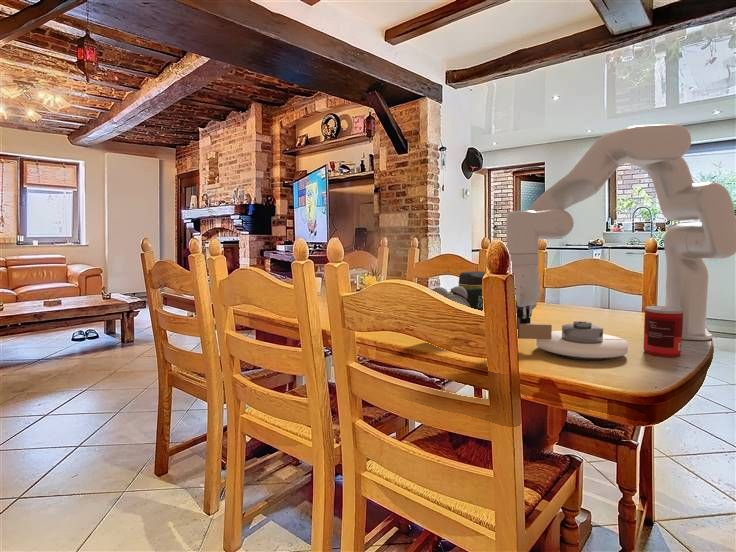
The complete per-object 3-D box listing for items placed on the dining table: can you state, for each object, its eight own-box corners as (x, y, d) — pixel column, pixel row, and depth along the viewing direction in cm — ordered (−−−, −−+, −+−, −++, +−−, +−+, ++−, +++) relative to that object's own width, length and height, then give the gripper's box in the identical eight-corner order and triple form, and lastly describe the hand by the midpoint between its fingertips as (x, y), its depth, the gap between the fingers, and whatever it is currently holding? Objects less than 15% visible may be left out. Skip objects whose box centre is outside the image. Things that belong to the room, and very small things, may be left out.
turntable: (502, 337, 122) (502, 311, 121) (607, 338, 118) (607, 312, 118) (517, 356, 102) (518, 325, 101) (643, 358, 98) (645, 327, 98)
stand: (566, 343, 120) (566, 339, 119) (622, 353, 109) (623, 349, 109) (538, 351, 111) (538, 348, 111) (596, 363, 100) (596, 359, 100)
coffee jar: (471, 338, 126) (471, 272, 125) (453, 333, 133) (453, 271, 132) (497, 335, 131) (498, 271, 129) (478, 330, 138) (479, 269, 136)
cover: (557, 335, 114) (557, 318, 113) (594, 336, 113) (595, 319, 112) (568, 343, 105) (568, 325, 104) (609, 344, 104) (609, 325, 103)
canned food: (669, 349, 112) (671, 305, 111) (688, 358, 104) (691, 311, 103) (636, 349, 113) (638, 305, 112) (653, 357, 105) (655, 310, 104)
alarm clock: (434, 345, 119) (434, 288, 118) (423, 339, 126) (423, 286, 124) (472, 341, 123) (473, 286, 122) (459, 336, 129) (459, 284, 128)
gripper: (525, 258, 120) (526, 326, 122) (491, 262, 111) (492, 335, 112) (552, 259, 114) (552, 330, 116) (519, 263, 105) (519, 340, 106)
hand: (523, 332), depth 114 cm, fingers closed
